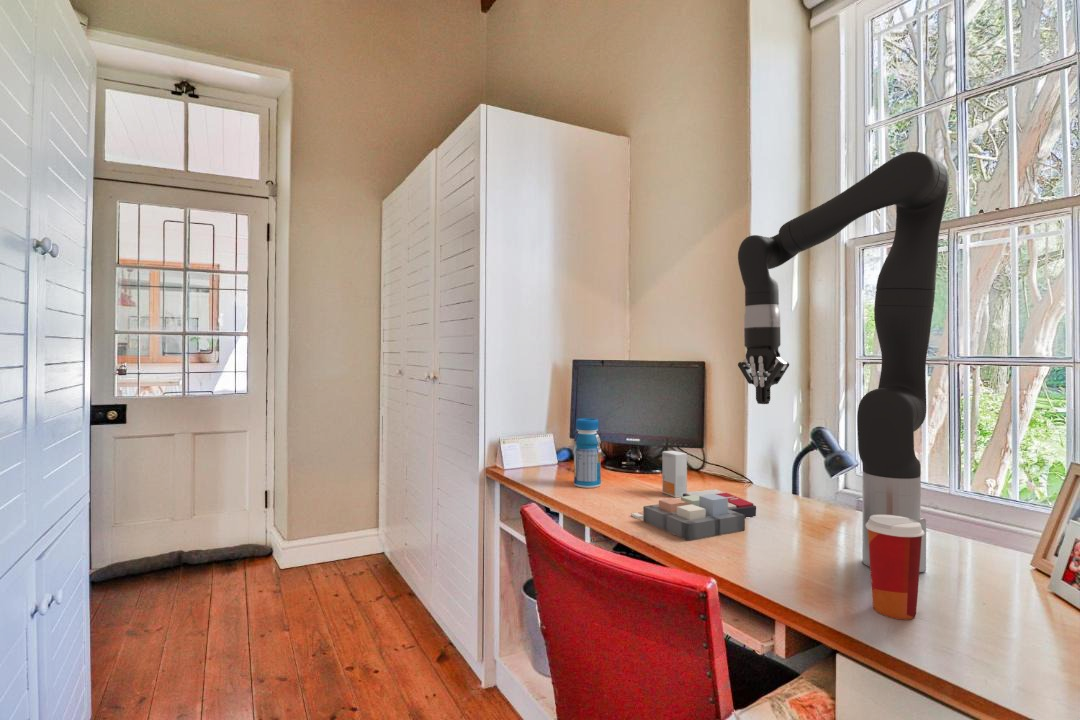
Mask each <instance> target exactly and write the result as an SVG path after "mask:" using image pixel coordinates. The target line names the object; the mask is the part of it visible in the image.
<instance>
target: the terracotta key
mask: <svg viewBox="0 0 1080 720" xmlns="http://www.w3.org/2000/svg"><path fill="white" fill-rule="evenodd" d="M658 504H659V509H662V510H665V511H667V512H670V513H673V512H677V507H678V506H685V505H686V502H684V501H681V499H678V498H675V497H671V498H663V499H659V500H658Z"/></svg>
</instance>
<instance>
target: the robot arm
mask: <svg viewBox="0 0 1080 720" xmlns="http://www.w3.org/2000/svg"><path fill="white" fill-rule="evenodd" d="M950 181H951V180H950V172H949V170H948V168H947V166H946V165H945V164H944V163H942V162H941V161H940V160H939V159H936V158H934V157H933V156H930V155H928V154H926V153H923V152H919V151H905V152H903V153H899V154H898V155H895V156H894V157H893V158H891V159H889V160H888V161H886V162H885V163H883V164H882V165H880V166H879V167H878V168H876V169H874V170H873V171H871V172H870V173H869V174H867V175H866V176H865V177H863V178H862V179H860V180H859V181H857V182H856V183H855V184H852V185H851V186H849V187H848V188H847V189H845V190H844V191H842V192H841V193H839V194H838V195H836V196H833V198H831V199H829V200H827V201H826V202H824V203H822V204H820V205H818V206H816V207H815V208H813V209H810V210H808V211H807V212H804V213H803V214H800V215H798V216H796V217H795V218H793V219H790V220H788V221H786V222H785V223H783V224H782V226H780V228H779V230H778V233H777V234H775V235H774V236H771V237H767V236H763V235H756V234H753V235H749V236H747V237H745V238H744V239H743V240H742V242H741V243H740V244H739V248H738V252H737V260H738V261H737V263H738V266H739V271H740V275H741V279H742V282H743V286H744V304H745V305H744V315H743V316H744V317H743V324H744V325H743V327H744V329H743V332H744V333H743V334H744V337H743V338H744V341H743V342H744V344H743V345H744V347H745V348H746V353H745V358H744V360H743V361H739V362H738V363H737V367H738V368H739V369H740V371H741V373H742V375H743V377H744V378H745V380H746V382H747V383H748V384H749V385H753V386H754V387H755V400H756V402H757V404H758V405H769V404H770V401H771V387H772V386H774V385H777V384H779V382H780V381H781V379H782V377H783V376H784V374H785V373H786V371H787V370H788V369H789V367H790V362H788V361H784V360H783V359H782V358H781V353H780V351H779V348H780V347H781V345H782V343H781V313H780V305H779V304H780V302H779V301H780V300H779V299H780V297H779V296H780V295H779V294H780V293H779V283H778V282H777V281H776V280H775V279H774V278H772V277H771V275H770V271H769V270H772V269H776V268H778V267H780V266H782V265H784V264H785V263H787V262H788V261H790V260H791V259H792V258H794V257H795V256H797V255H798V254H799V253H801V252H804V251H806V250H809V249H811V248H813V247H815V246H817V245H820V244H822V243H824V242H827V241H828V240H830V239H831V238H833V237H834V236H836V235H837V234H839V233H840V232H841V231H843V230H844V229H845V228H846V227H848V226H849V225H850V224H852V223H853V222H854V221H856V220H857V219H859V218H861V217H863V216H865V215H867V214H869V213H871V212H874V211H877V210H880V209H884V208H887V207H890V206H895V207H896V209H895V210H896V211H895V212H896V213H895V215H896V217H895V218H896V219H895V232H894V238H893V242H892V245H891V247H890V250H889V251H888V255H886V258H885V260H884V262H883V265H882V266H881V269H880V272H879V274H878V278H877V280H876V281H877V282H876V286H875V287H876V288H875V294H874V295H875V296H874V308H873V309H874V311H873V314H874V315H873V316H874V325H875V330H876V334H877V339H878V343H879V348H880V353H881V367H880V375H879V376H880V377H879V382H878V388H876V389H875V388H874V389H872V390H871V391H869V392H867V393H866V394H865V395H863V397H862V398H861V399H860V401H859V404H858V408H857V415H856V416H857V417H856V419H857V421H856V422H857V424H856V425H857V447H858V455H859V457H860V460H861V463H862V464H861V465H862V502H861V503H862V504H861V505H862V508H861V509H862V512H861V513H862V515H861V516H862V517H861V518H862V521H861V522H862V526H861V527H862V528H861V529H862V530H861V531H862V533H861V534H862V537H861V538H862V541H861V542H862V545H861V546H862V547H861V548H862V554H861V555H862V559H861V560H862V563H863V564H864V565H866V566H867V567H869V568H870V556H869V539H868V529H867V528H866V526H865V525H866V523H867V522H868V520H869V518H870V516H872V515H895V516H901V517H906V518H909V519H912V520H914V521H916V522H917V523H920V524H921V528H922V530H923V531H924V535H923V536H922V540H921V555H920V569H919V574H920V573H923V572H926V571H927V519H926V518H925V517H922V516H921V515H922V514H921V509H922V508H921V506H922V505H921V502H922V498H921V494H922V493H921V491H922V489H921V487H922V485H921V484H922V483H921V481H922V478H921V477H922V476H921V475H922V471H921V470H922V466H921V461H920V460H919V459H918V458H917V456H916V453H915V439H914V438H915V436H914V435H915V433H914V432H916V431H917V430H919V429H920V428H921V427H922V425H923V423H924V421H925V419H926V418H927V417H926V416H927V387H926V386H927V385H926V384H927V382H926V378H927V377H926V375H927V374H926V370H927V369H926V365H927V363H926V362H927V357H928V356H927V355H928V350H929V344H930V337H931V330H932V329H931V327H932V319H933V312H934V306H935V296H936V286H937V285H936V284H937V282H936V280H937V271H938V270H937V267H938V256H939V238H940V231H941V225H942V220H943V216H944V213H945V212H944V211H945V207H946V203H947V198H948V195H949V194H948V193H949V189H950Z"/></svg>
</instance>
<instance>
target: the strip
mask: <svg viewBox="0 0 1080 720" xmlns="http://www.w3.org/2000/svg"><path fill="white" fill-rule="evenodd" d="M630 515H631V517H633V518H634V519H637V520H640V519H643V511H637V512H633V513H632V512H631V514H630Z"/></svg>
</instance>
